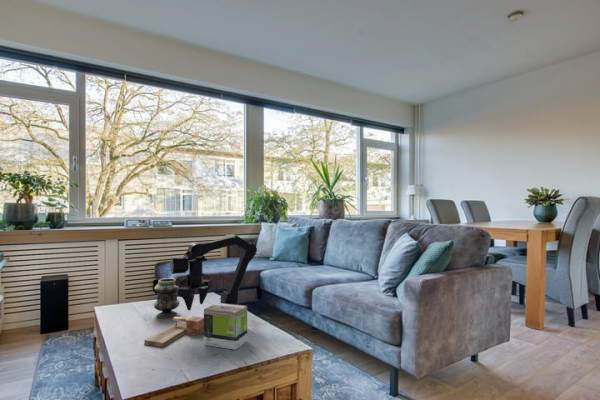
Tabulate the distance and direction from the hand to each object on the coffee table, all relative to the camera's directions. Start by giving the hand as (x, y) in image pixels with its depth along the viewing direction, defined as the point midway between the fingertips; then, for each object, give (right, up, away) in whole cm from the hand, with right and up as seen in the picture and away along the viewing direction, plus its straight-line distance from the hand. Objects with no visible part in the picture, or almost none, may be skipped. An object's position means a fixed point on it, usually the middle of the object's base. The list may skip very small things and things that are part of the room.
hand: (195, 307), depth 148 cm
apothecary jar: (-21, -11, +22) cm, 33 cm away
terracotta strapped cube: (-4, -11, +1) cm, 12 cm away
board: (-9, -11, -4) cm, 15 cm away
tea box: (+16, -11, -11) cm, 22 cm away
